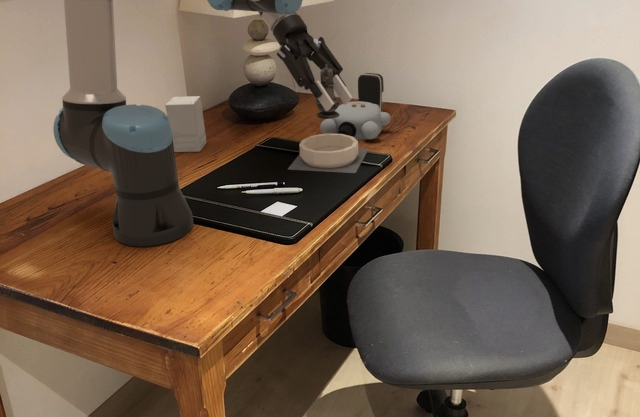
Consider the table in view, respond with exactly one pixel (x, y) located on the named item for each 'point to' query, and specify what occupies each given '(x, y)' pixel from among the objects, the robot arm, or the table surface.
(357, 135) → the grey rounded piece
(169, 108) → the supplement box
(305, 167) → the mat
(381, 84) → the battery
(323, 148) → the bowl
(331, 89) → the grey upright statuette
